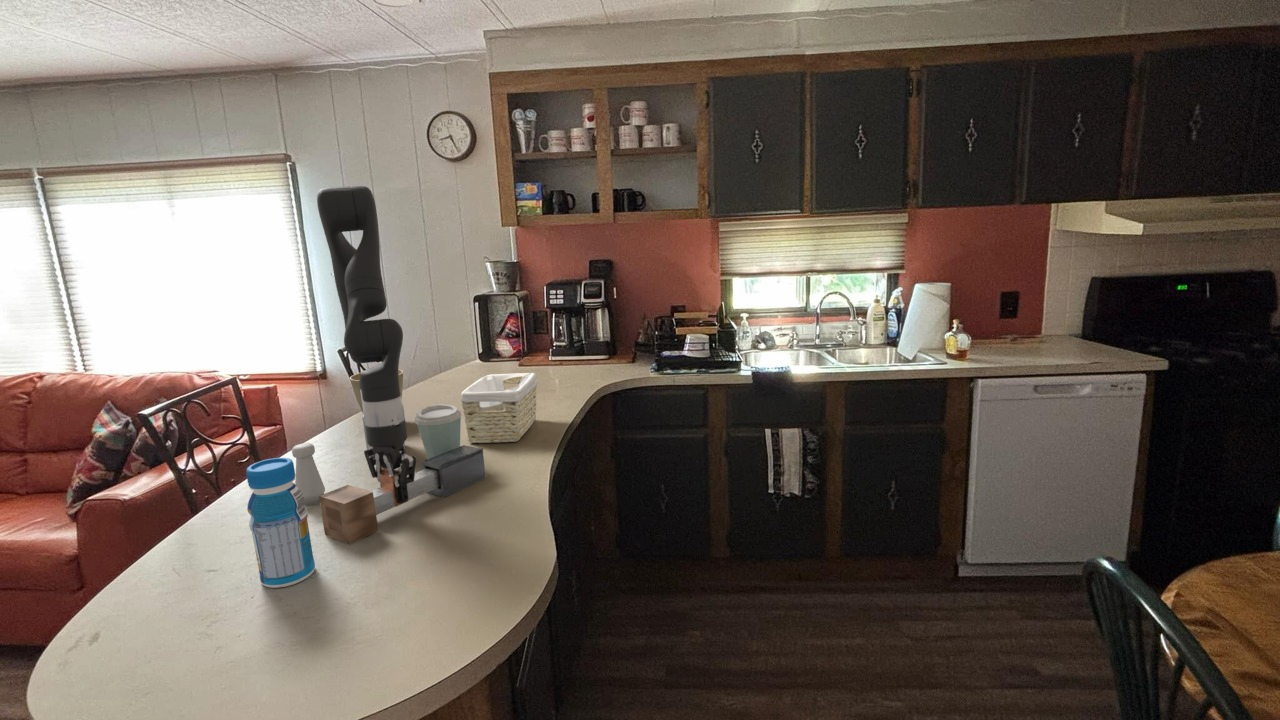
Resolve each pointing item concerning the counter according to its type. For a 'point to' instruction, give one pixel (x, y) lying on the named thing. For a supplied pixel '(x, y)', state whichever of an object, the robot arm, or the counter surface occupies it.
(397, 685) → the counter surface
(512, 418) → the storage basket
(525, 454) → the counter surface
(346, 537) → the cardboard box
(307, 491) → the salt shaker
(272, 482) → the beverage bottle
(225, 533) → the counter surface
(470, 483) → the sleeve
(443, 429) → the disposable coffee cup
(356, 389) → the plant pot
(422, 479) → the grey square bar
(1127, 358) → the counter surface
